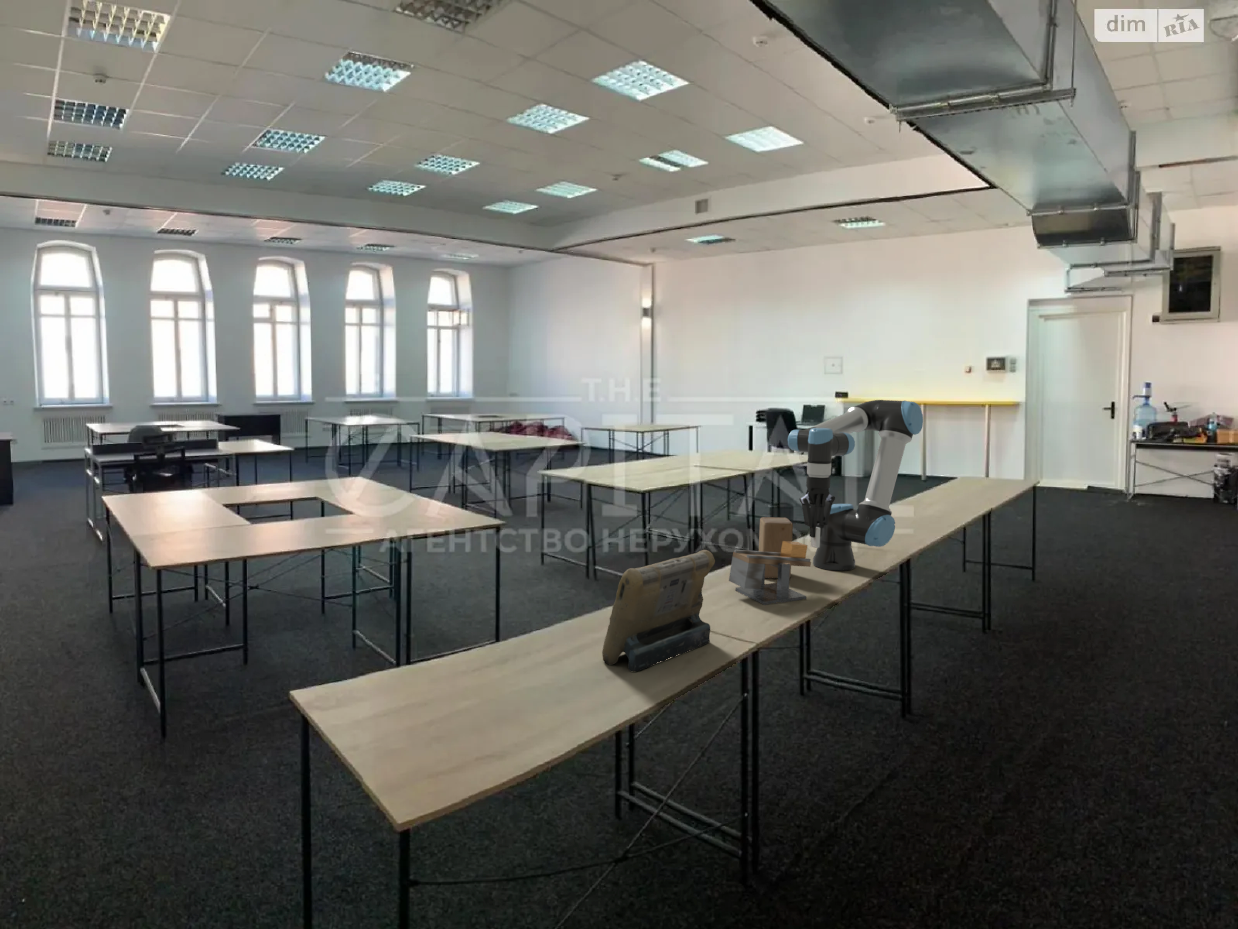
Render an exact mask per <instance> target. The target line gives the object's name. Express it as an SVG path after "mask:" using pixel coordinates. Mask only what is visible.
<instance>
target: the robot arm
mask: <svg viewBox="0 0 1238 929" xmlns="http://www.w3.org/2000/svg"><path fill="white" fill-rule="evenodd" d="M923 427H924V416H923V412H922V408H921V406H920V405H919V404H918V403H917V402H915V401H909V400H908V401H907V400H890V399H889V400H888V399H876V400H875V399H874V400H870V401H865V402H863V403H860V404H857V405H854V406H852V407H850V408H848V409H847V410H846V412H845V413H842V414H840V415H837V416H835V417H833V418H830V419H828V420H825V421H823V422H821V423H818V424H816V425H813V426H811V427H809V428H806V429H793V430H791V431H790V433H789V434H788V436H787V446H788V448H789V449H791V450H792V451H796V452H798V453H807V462H806V464H807V465H806V474H807V476H806V483H805V486H806V489H807V490H806V491H805V495H804V496H800V497H799V499H798V500H799V502H800V504H801V507H802V509H801V510H802V514H803V515H802V516H803V521H804V525H805V526H807V527H809V537H810V547H812V548H816V549H815V550H816V551H815V554H814V556H813V558H812V565H813V566H815V567H816V568H820V569H822V570H829V571H840V572H841V571H842V572H844V571H852V570H854V569H855V568H856V559H855V556H854V551H853V549H852V548H853V547H852V542H853V543H856V544H862V545H866V546H869V547H876V548H877V547H878V548H879V547H884V546H885V545H887V544H889V542H890V541H891V539H892V538H893V536H894V533H895V530H896V520H895V518H894V517H893V516H892V514H893V512H892V510H891V508H890V504H891V501H892V496H893V493H894V489H895V485H896V481H897V478H898V474H899V470H900V466H901V464H902V459H903V457H904V453H905V452H904V451H905V448H906V445H907V444H908V443H910V442H912V440H913V439H912V438H913V436H914V435H915V436H916V435H918V434H920V432H921V431H922V429H923ZM865 431H875V432H878V435H879V437H880V438H881V439H880V442H879V446H878V449H877V454H876V457H875V460H874V464H873V468H872V470H871V471H872V472H871V476H870V478H869V482H868V485H867V490H866V493H865V496H864V497H865V498H864V500H863V501H861V502H860V503H858V506H857V509H855V507H854V504H851V503H834V502H835V500H836V497H835V496H834V495H831V494H830V490H829V489H830V487H831V477H830V476H831V474H832V457H839V456H842V457H843V456H846V455H850V454H851V453H852V452H853V450H854V449H855V446H856V441H855V438H854V437H853V435H852V433H861V432H865ZM851 569H852V570H851Z"/></svg>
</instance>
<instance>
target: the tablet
mask: <svg viewBox="0 0 1238 929" xmlns="http://www.w3.org/2000/svg"><path fill="white" fill-rule="evenodd" d="M715 562H716V560H715V556H714V554H713V553H712V552H711V551H710V550H707V549H702V550H700V551H697V552H695V553H691V554H687V555H684V556H683V555H682V556H680V557H679V556H678V557H674V558H670V559H667V560H663V561H660V562H656V563H653V564H649V565H645V566H642V567H641V566H640V567H636V568H633V567H631V568H628V569H626V570H625V571H624V572H623V573H622V576H621V579H620V580H619V583H618V585H617V591H616V595H615V596H616V597H615V600H614V603H613V606H612V609H611V613H610V616H609V624H608V626H607V631H606V634H605V638H604V640H603V645H602V646H603V647H602V651H601V654H602V661H603V662H604V663H606V664H607V665H608V664H610V665H615V664H616V663H618V662H619V657H620V656H621V654H622V653H624V654H625V655H626V657H627V659H628V664H627V669H628V670H629V671H630V672H631V671H637V672H640V671H642V670H645V669H647V667H648V668H650V666H651V665H653V664H656V663H657V662H660V661H663V662H666V661H667V660H666V659H668V658H670V657H674V658H676V657H677V656H676V655H678V654H681V655H683V653H684V654H686V653H688V652H690V651H689V650H691V651H693V650H696V649H698V648H700V647H704V646H705V645H707V644H709V643H710V642H711V641H710V633H711V625H710V624H709V623H708V622H704V621H703V620H702V619H701V618H700V613H701V610H702V607H703V602H704V598H703V593H702V592H703V587H704V583H705V577H706V576H708V575H709V573H710V570H711V569H712V568H713V567H714V565H715ZM687 651H688V652H687ZM685 652H686V653H685ZM675 656H676V657H675ZM665 660H666V661H665ZM610 665H609V666H610ZM656 665H657V664H656ZM653 666H654V665H653ZM651 667H652V666H651Z"/></svg>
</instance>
